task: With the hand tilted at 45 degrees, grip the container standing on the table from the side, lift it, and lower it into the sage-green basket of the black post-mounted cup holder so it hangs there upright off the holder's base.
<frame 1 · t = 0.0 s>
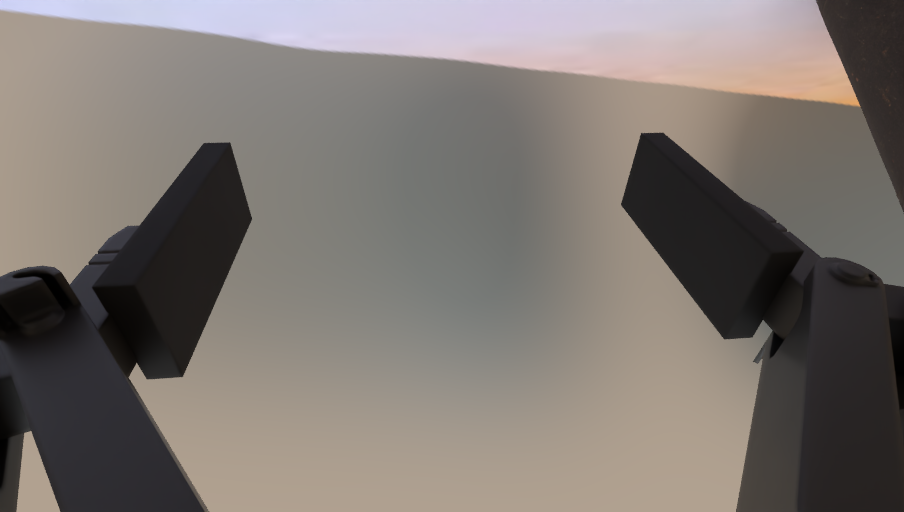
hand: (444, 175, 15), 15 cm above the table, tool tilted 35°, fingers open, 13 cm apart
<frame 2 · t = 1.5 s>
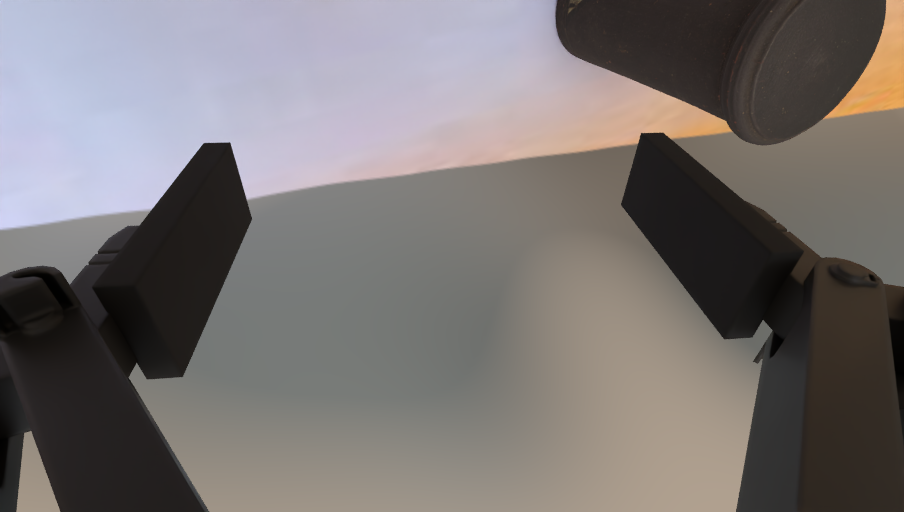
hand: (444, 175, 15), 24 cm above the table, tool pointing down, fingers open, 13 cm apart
container: (598, 4, 38), on the table
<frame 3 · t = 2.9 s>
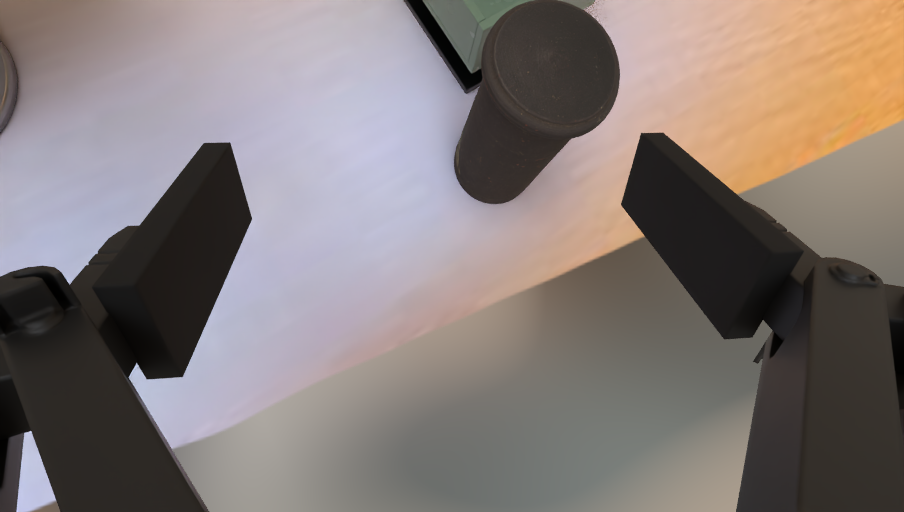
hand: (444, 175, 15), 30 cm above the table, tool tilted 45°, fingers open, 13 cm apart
cup holder: (485, 4, 49), on the table
container: (492, 164, 47), on the table
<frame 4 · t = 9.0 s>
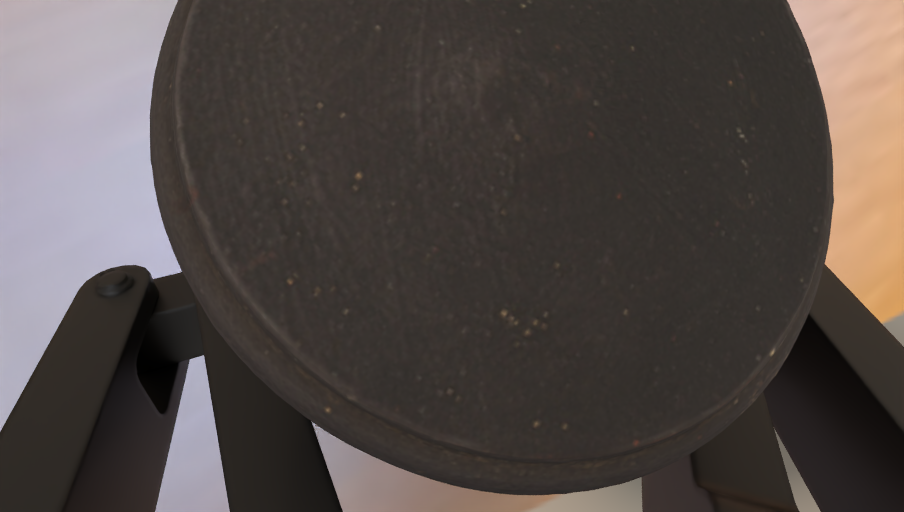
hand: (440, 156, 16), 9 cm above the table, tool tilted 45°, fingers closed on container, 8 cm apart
container: (433, 274, 25), on the table, touching gripper
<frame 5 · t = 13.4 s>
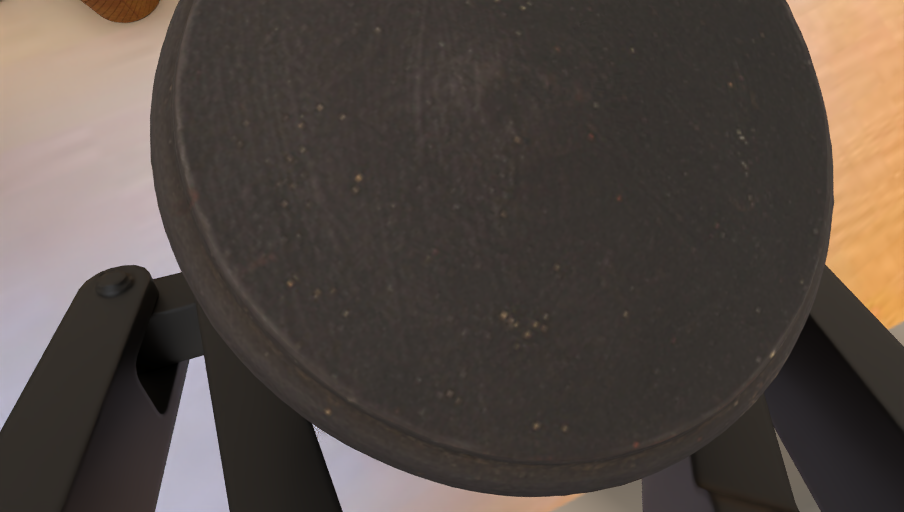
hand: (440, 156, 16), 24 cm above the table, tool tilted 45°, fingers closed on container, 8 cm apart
container: (433, 275, 25), point 16 cm above the table, touching gripper
when the fingers open (13 cm above the table, at t = 18.1 s): container stays where it is, resting on cup holder.
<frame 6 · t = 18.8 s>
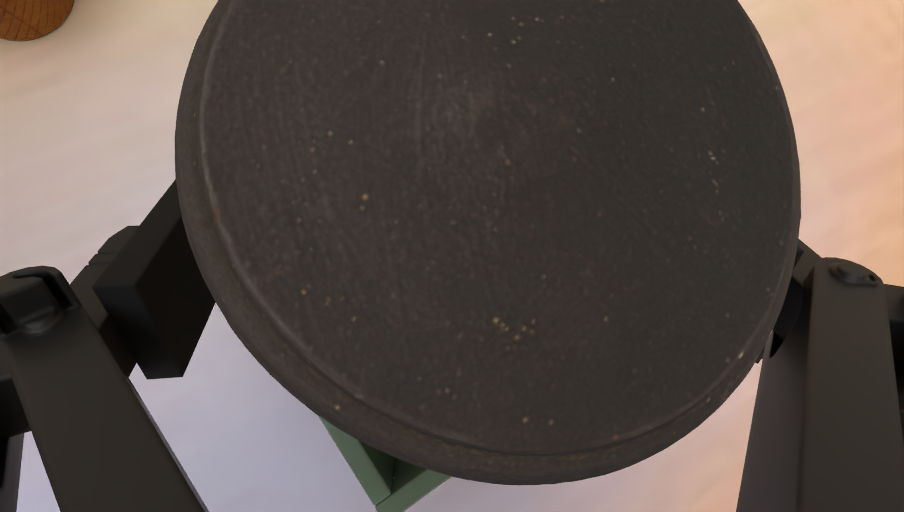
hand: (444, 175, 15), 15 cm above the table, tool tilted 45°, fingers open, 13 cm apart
cup holder: (430, 282, 30), on the table
container: (433, 277, 25), point 5 cm above the table, touching cup holder
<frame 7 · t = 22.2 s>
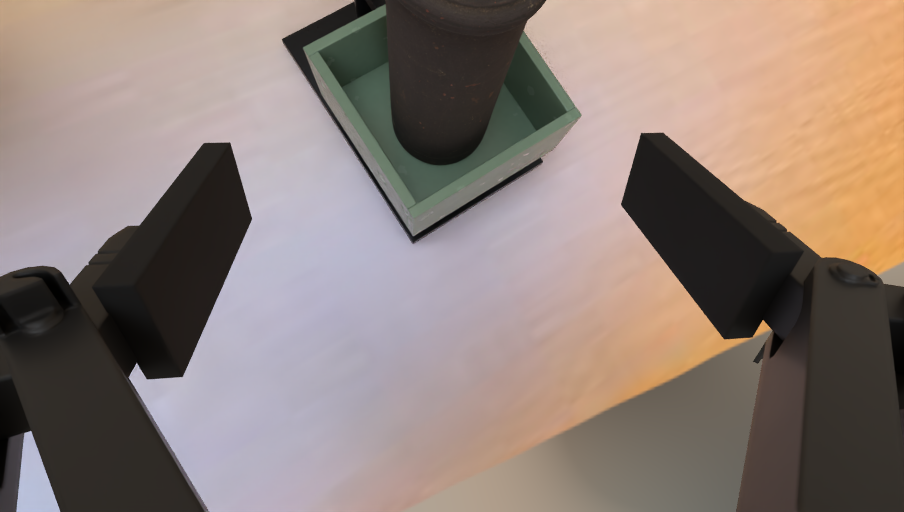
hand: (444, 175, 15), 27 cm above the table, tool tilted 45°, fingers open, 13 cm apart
cup holder: (436, 139, 44), on the table
container: (439, 119, 39), point 5 cm above the table, touching cup holder
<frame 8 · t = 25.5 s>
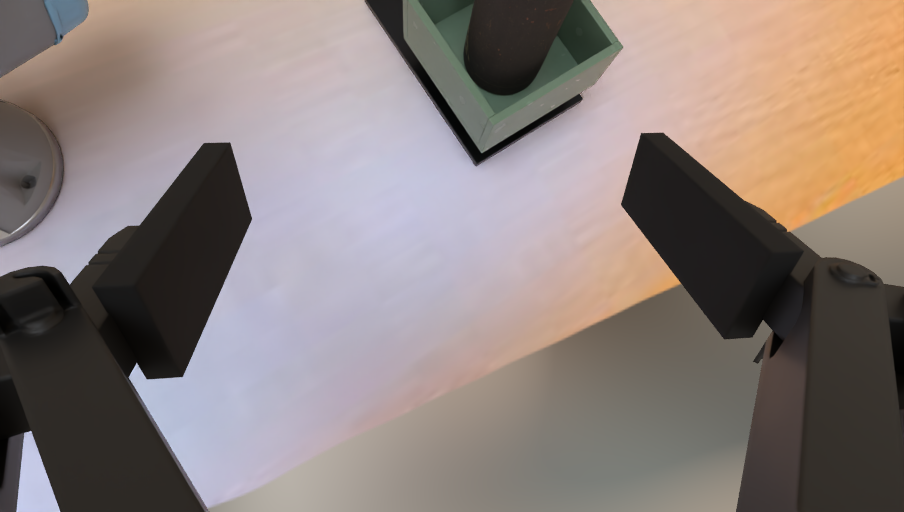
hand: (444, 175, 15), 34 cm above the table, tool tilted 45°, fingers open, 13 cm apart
cup holder: (493, 81, 52), on the table
container: (501, 58, 48), point 5 cm above the table, touching cup holder
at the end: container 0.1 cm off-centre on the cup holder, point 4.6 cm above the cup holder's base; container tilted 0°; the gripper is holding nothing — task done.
